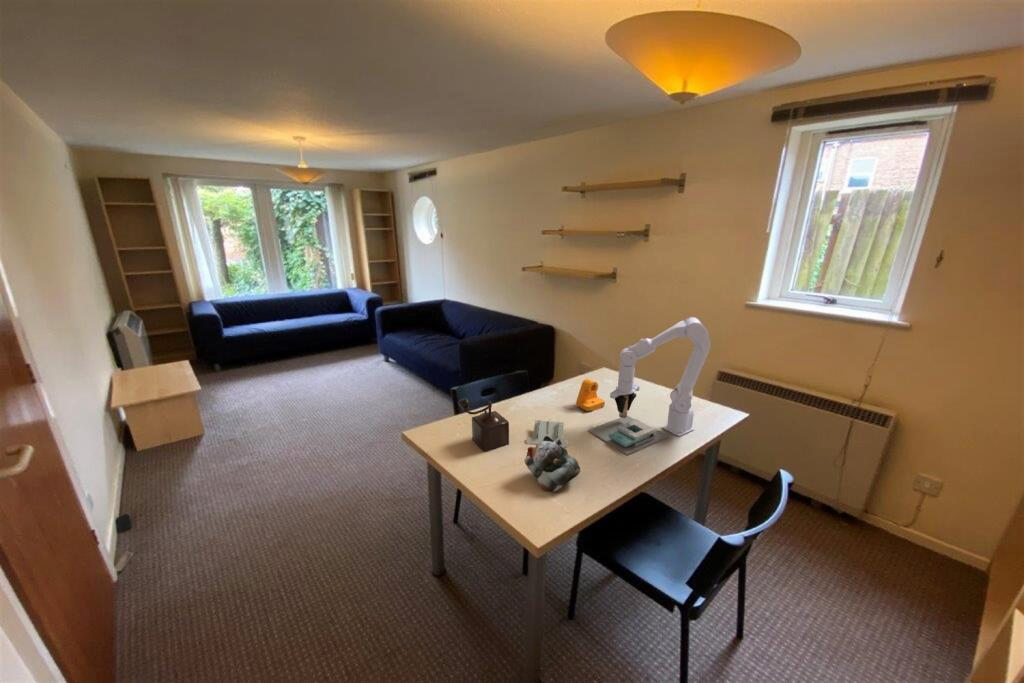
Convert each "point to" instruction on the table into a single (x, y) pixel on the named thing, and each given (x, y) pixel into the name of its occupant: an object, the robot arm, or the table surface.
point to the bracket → (589, 396)
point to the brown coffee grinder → (487, 427)
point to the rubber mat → (611, 427)
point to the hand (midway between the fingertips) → (623, 410)
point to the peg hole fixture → (633, 434)
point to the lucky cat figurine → (551, 464)
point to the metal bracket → (547, 432)
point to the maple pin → (624, 414)
